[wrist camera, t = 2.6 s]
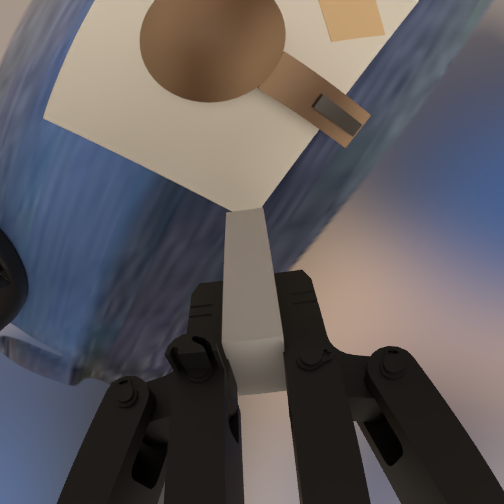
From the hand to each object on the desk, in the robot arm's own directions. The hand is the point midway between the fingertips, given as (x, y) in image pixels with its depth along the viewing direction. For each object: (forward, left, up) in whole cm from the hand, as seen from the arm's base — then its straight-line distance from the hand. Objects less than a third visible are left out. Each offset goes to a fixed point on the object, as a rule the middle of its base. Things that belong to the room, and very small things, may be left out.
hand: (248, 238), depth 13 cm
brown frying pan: (-3, +6, -9) cm, 12 cm away
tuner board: (-6, +7, -11) cm, 14 cm away
